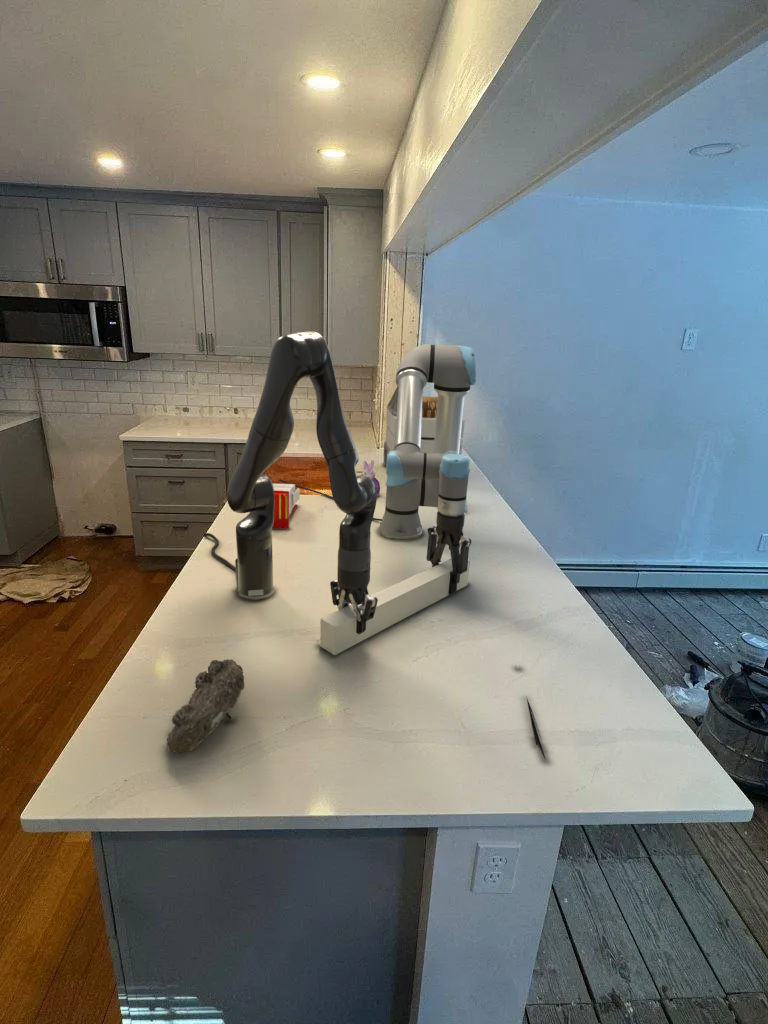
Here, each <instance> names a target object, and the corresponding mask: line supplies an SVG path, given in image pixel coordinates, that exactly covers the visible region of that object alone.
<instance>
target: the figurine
mask: <svg viewBox="0 0 768 1024" xmlns="http://www.w3.org/2000/svg"><path fill="white" fill-rule="evenodd" d="M362 464H363V470H362V472H361V476H367V477H369V478H370V479H371V480H372V481H373V482H374V484H375V487H376V491H377V497H379V496H380V491H381V484H380V481H379V480H378V478H376V473H375V471H374V465H375V460H370V462H369V464H368V462H367V461H366V460H364V461H363V463H362Z"/></svg>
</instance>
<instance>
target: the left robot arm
mask: <svg viewBox="0 0 768 1024" xmlns="http://www.w3.org/2000/svg"><path fill="white" fill-rule="evenodd" d="M306 378H309V379H310V382H311V384H312V387H313V389H314V392H315V398H316V422H315V423H316V424H315V427H316V428H315V430H316V431H315V432H316V438H317V441H318V445H319V447H320V450H321V453H322V455H323V457H324V460H325V463H326V465H327V468H328V478H329V485H330V492H331V495H332V497H333V499H332V500H333V501H334V503H335V505H336V507H337V508H338V509H339V510H340V511H341V512H342V513H344V514H345V516H344V518H343V519H342V521H341V522H340V523H339V531H338V549H337V577H336V579H334V580H332V581H330V582H329V585H330V594H331V599H332V605H333V606H337V610H340V609H342V608H344V607H347V606H349V605H351V604H352V606H353V610H354V612H356V616H357V624H356V633H357V634H361V633H363V632H364V631H365V630H366V621H368V620H370V619H372V618H373V617H374V614H375V610H376V606H377V602H378V599H377V598H376V597H374V598H372V597H371V595H370V594H369V590H368V586H369V584H370V582H371V561H372V560H371V559H372V552H371V527H372V523H373V521H374V520H373V518H374V516H375V510H376V507H377V501H378V496H377V491H376V487H375V484H374V482H373V481H372V480H371V479H370V478H369V477H367V476H362V475H357V472H356V466H357V464H358V463H359V459H360V458H359V454H358V451H357V449H356V445H355V442H354V440H353V438H352V435H351V432H350V429H349V426H348V424H347V421H346V417H345V414H344V410H343V406H342V402H341V401H342V400H341V397H340V392H339V386H338V382H337V378H336V374H335V368H334V364H333V360H332V355H331V352H330V348H329V345H328V343H327V341H326V340H325V338H324V337H323V336H322V335H321V334H320V333H319V332H317V331H313V330H307V331H300V332H292V333H288V334H284V335H282V336H280V337H278V339H276V341H275V342H274V344H273V346H272V350H271V353H270V357H269V361H268V365H267V371H266V376H265V382H264V386H263V389H262V392H261V396H260V399H259V403H258V406H257V410H256V412H255V414H254V417H253V420H252V422H251V426H250V428H249V432H248V435H247V439H246V442H245V445H244V447H243V449H242V450H243V451H242V453H241V456H240V459H239V461H238V463H237V465H236V466H235V469H234V471H233V473H232V474H231V477H230V479H229V482H228V484H227V489H226V501H227V504H228V506H229V508H230V510H231V511H232V512H234V513H237V514H246V513H248V514H247V515H246V516H245V517H243V518H242V519H241V520H240V521H238V522H237V523H236V526H235V538H236V539H235V540H236V541H235V542H236V558H235V560H234V562H235V563H234V564H235V566H234V565H233V564H232V563H230V562H229V561H228V560H227V559H225V558H224V557H222V556H220V555H218V554H217V553H216V551H215V550H216V549H217V548H218V546H219V545H220V540H219V539H218V538H217V537H216V536H215V535H214V534H213V533H210V532H205V533H204V534H203V535H202V537H203V538H206V537H210V538H211V539H213V540H214V542H215V544H214V545H213V546H212V548H211V551H210V552H211V555H212V556H213V557H214V558H215V559H217V560H219V561H221V562H222V563H224V564H225V565H226V566H228V568H230V569H231V570H232V571H234V572H235V581H236V582H235V583H236V585H235V586H236V591H237V592H238V596H239V597H240V598H242V599H245V600H248V601H260V600H265V599H267V598H269V597H271V596H273V594H274V592H275V587H274V561H273V560H274V558H273V528H272V527H273V524H274V499H275V496H274V487H273V484H274V483H273V481H272V479H271V478H270V476H268V474H266V473H265V472H266V470H268V469H269V468H270V467H271V466H272V465H274V464H275V462H276V461H278V459H280V458H281V456H282V455H283V454H284V453H285V451H286V449H287V448H288V445H289V443H290V440H291V438H292V435H293V433H294V428H295V419H294V414H293V411H292V408H291V399H292V396H293V393H294V391H295V388H296V386H297V385H298V383H299V382H300V381H301V380H302V379H306ZM337 596H338V597H337ZM360 604H362V605H361V606H359V607H358V606H357V605H360ZM361 610H362V613H363V614H362V615H361Z"/></svg>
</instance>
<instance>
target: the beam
mask: <svg viewBox="0 0 768 1024" xmlns="http://www.w3.org/2000/svg"><path fill="white" fill-rule="evenodd" d="M470 565H471V561H469V560H468V567H467V571H466V572H464V573H462V574H460V582H459V583H457V591H459V590H461V589H463V588H465V587H467V586H468V585H469V575H470V568H471V567H470ZM451 572H453V568H452V560H451V558H449V559H447V560H445V561H443V562H440V563H439V564H438V565H436V566H434V567H432V566H431V567H429V568H428V569H425V570H423V571H421V572H419V573H417V574H414V575H412V576H410V577H408V578H405V579H403V580H401V581H399V582H397V583H395V584H392V585H391V586H388V587H386V588H384V589H382V590H379V591H377V592H375V593H373V594H371V595H370V596H371V597H372V598H374V597H376V598H377V599H378V602H377V606H376V610H375V614H374V617H373V618H372V619H370V620H368V621H366V630H365V631H364V632H363V633H361V634H357V633H356V624H357V616H356V612H354V610H353V606H352V604H351V603H350V604H349V606H347V607H344V608H342V609H340V610H339V609H337V610H336V611H334V612H331V613H330V614H327V615H324V616H323V617H320V622H319V623H320V627H319V628H320V629H319V630H320V632H319V634H320V636H319V637H320V638H319V639H320V640H319V646H320V648H322V649H323V650H325V651H327V652H328V653H330V654H331V655H333V656H336V655H338V654H340V653H342V652H344V651H345V650H346V651H347V649H349V648H351V647H353V646H355V645H357V644H359V643H361V642H363V641H365V640H367V639H368V638H371V637H372V636H374V635H376V634H378V633H379V632H381V631H384V630H385V629H387V628H389V627H392V626H393V625H395V624H396V623H399V622H401V621H402V620H405V619H406V618H409V617H410V616H412V615H414V614H416V613H417V612H420V611H421V610H423V609H426V608H427V607H430V606H431V605H433V604H435V603H437V602H439V601H440V600H442V599H444V598H446V597H448V596H450V594H448V593H449V582H450V573H451ZM361 605H362V604H360V605H357V606H358V607H359V606H361ZM362 614H363V613H362V610H361V615H362Z"/></svg>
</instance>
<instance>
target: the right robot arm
mask: <svg viewBox="0 0 768 1024" xmlns="http://www.w3.org/2000/svg"><path fill="white" fill-rule="evenodd" d="M476 381H477V363H476V353H475V350H474V349H473V348H472V347H470V346H466V345H465V346H464V345H455V344H454V345H452V344H430V343H429V344H428V343H427V344H421V345H420V344H419V345H418V346H416V347H414V348H412V349H411V350H410V351H408V352H407V353H406V354H405V355H404V356H403V358H402V359H401V361H400V363H399V365H398V367H397V369H396V374H395V385H396V387H397V386H398V387H399V389H398V403H397V418H396V433H395V448H394V451H389V452H388V453H387V464H386V466H385V467H386V468H385V473H386V482H385V486H386V488H385V489H386V490H385V504H384V505H385V507H384V508H385V509H384V513H383V515H382V518H376V517H373V520H372V521H378V522H379V526H378V533H379V534H380V535H381V536H382V537H385V538H387V539H389V540H395V541H410V540H415V539H418V538H420V537H421V536H422V535H423V525H422V524H421V518H420V515H419V507H427V508H430V507H431V508H437V512H436V526H434V525H432V526H430V527H428V528H427V535H428V538H427V549H426V561H427V562H430V563H431V568H432V567H434V566H436V565H438V564H440V563H442V558H443V554H444V551H445V548H446V545H447V546H448V550H449V551H450V559H451V560H452V568H453V572H451V573H450V582H449V593H448V594H450V595H453V594H455V593H457V591H458V590H457V583H459V582H460V574H462V573H464V572H466V571H467V567H468V561H469V555H470V546H471V544H472V541H473V540H472V538H467V537H465V535H464V532H463V529H464V526H465V519H466V518H465V517H466V514H465V513H466V509H467V499H468V498H467V497H468V496H467V495H468V486H469V485H468V484H469V475H470V471H471V469H470V466H471V465H470V462H471V460H470V458H469V457H468V456H466V455H464V454H461V455H460V454H459V449H460V439H462V438H461V428H462V419H464V408H465V407H464V406H465V397H466V395H467V394H468V393H469V392H470V391H471V386H474V385H476V383H477V382H476ZM427 383H428V384H429V383H430V384H433V390H434V391H435V392H436V393H437V397H438V401H437V413H436V426H435V439H434V452H433V453H422V452H420V451H421V427H422V403H423V397H424V389H425V388H426V386H427ZM278 481H279V482H281V483H283V484H293V483H292V482H289V481H286V480H284V479H281V478H279V479H278ZM295 488H300V489H303V490H305V491H309V492H313V493H316V494H318V495H321V496H325V497H327V498H330V499H332V500H334V499H333V496H331V495H329V494H327V493H324V492H322V491H321V492H320V491H318V490H314V489H312V488H308V487H306V486H302V485H298V484H295ZM450 595H449V596H450Z"/></svg>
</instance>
